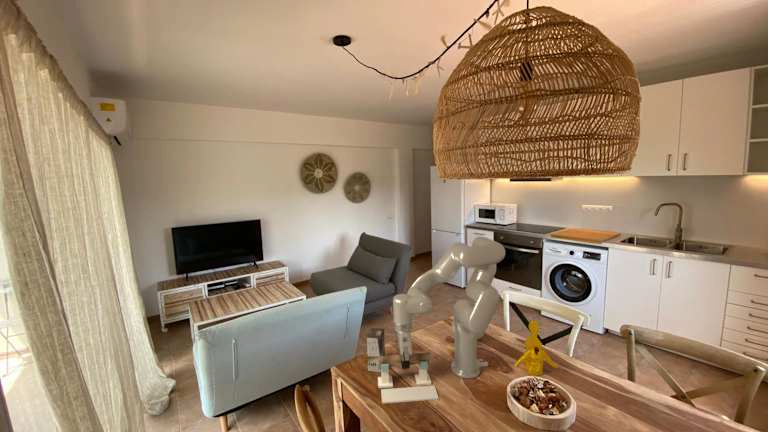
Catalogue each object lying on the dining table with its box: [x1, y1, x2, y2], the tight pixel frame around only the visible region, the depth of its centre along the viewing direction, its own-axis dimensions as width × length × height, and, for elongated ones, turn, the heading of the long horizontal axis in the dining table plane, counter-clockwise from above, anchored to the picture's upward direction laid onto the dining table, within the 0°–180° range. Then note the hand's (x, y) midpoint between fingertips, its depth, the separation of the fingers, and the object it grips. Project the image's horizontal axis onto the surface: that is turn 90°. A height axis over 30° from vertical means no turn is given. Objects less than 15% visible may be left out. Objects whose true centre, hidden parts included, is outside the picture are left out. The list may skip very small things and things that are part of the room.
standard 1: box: [377, 364, 394, 389], centre depth 130 cm, size 6×6×10 cm
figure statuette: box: [514, 319, 559, 376], centre depth 134 cm, size 18×8×22 cm, turn 84°
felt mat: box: [380, 385, 440, 404], centre depth 123 cm, size 22×7×1 cm, turn 93°
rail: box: [379, 351, 432, 368], centre depth 130 cm, size 22×3×3 cm, turn 93°
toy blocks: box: [414, 361, 432, 387], centre depth 131 cm, size 6×6×10 cm
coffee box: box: [366, 327, 386, 373], centre depth 141 cm, size 9×6×16 cm
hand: (405, 365), depth 130 cm, fingers closed on rail, 3 cm apart
